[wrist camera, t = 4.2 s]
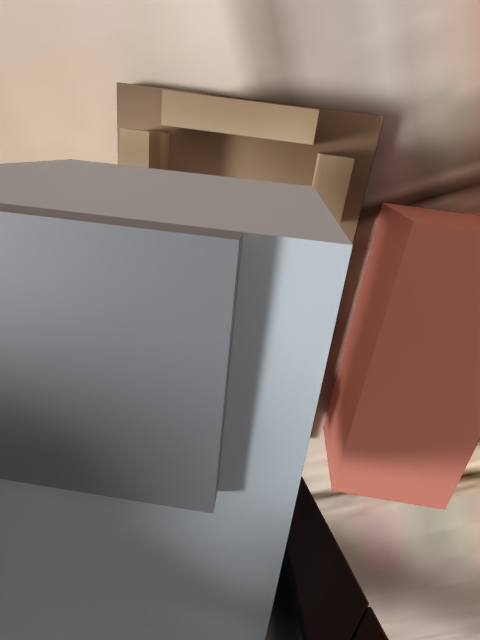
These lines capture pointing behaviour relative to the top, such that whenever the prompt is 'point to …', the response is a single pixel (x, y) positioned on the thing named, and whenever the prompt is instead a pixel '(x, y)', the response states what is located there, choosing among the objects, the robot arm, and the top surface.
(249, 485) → the pale blue slab
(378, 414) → the salmon pink slab
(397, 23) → the top surface
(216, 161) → the jig
